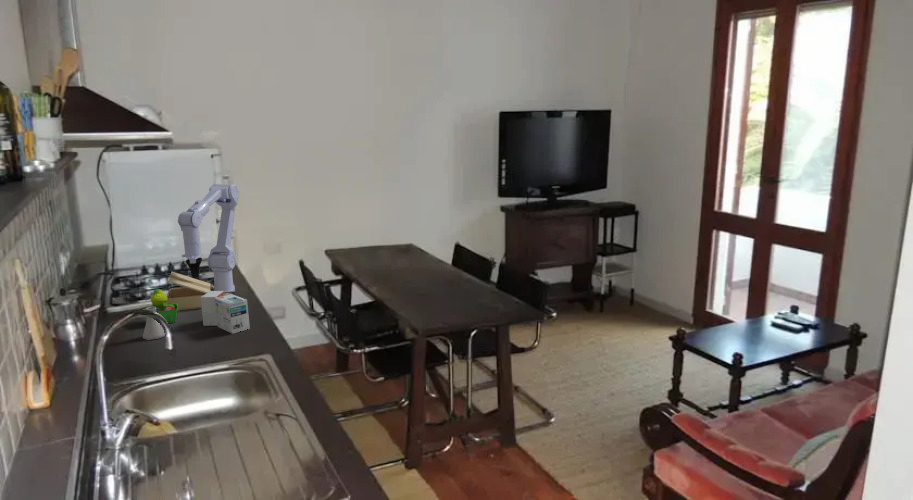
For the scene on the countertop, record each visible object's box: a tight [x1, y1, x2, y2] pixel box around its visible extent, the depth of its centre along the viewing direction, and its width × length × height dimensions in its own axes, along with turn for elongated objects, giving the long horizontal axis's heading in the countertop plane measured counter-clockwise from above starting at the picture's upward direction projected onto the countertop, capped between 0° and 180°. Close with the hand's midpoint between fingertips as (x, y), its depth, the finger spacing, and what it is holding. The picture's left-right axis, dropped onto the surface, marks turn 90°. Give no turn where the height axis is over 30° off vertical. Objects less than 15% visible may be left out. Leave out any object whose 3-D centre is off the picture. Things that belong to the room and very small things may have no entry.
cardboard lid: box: [168, 271, 211, 293], centre depth 246 cm, size 14×15×1 cm
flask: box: [142, 306, 166, 341], centre depth 213 cm, size 7×7×10 cm
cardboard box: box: [166, 287, 212, 312], centre depth 247 cm, size 14×15×5 cm
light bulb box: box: [215, 293, 251, 334], centre depth 220 cm, size 11×7×11 cm, turn 47°
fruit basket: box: [142, 288, 178, 324], centre depth 227 cm, size 11×9×11 cm
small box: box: [200, 290, 226, 327], centre depth 226 cm, size 8×6×10 cm
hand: (195, 277), depth 247 cm, fingers closed
